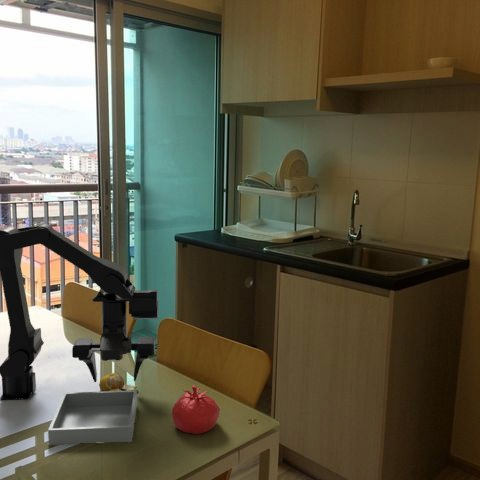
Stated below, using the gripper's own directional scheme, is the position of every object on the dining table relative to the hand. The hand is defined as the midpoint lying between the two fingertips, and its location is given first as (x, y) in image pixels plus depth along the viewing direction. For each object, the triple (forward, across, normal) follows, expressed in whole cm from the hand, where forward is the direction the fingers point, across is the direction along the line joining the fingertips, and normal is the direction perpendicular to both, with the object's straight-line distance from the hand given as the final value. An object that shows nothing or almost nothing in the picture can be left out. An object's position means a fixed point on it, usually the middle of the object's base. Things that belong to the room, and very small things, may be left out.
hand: (115, 380), depth 129 cm
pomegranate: (+3, +18, -18) cm, 26 cm away
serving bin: (+3, -2, -16) cm, 16 cm away
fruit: (+4, +3, -1) cm, 6 cm away
